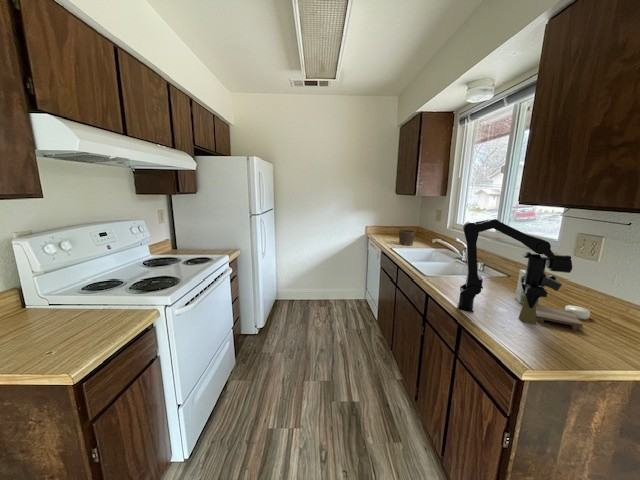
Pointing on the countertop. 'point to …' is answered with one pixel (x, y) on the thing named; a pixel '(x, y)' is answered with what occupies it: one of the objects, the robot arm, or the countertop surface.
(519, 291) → the skincare box
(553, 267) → the robot arm
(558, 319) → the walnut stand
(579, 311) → the white rounded piece
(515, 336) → the countertop surface
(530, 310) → the olive pestle
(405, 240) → the plant pot
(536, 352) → the countertop surface
